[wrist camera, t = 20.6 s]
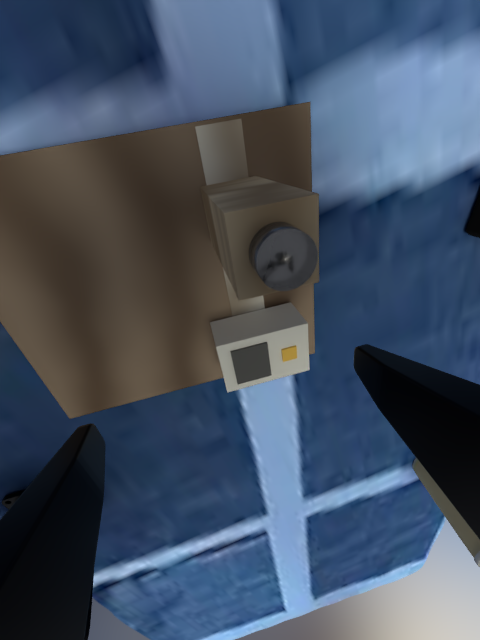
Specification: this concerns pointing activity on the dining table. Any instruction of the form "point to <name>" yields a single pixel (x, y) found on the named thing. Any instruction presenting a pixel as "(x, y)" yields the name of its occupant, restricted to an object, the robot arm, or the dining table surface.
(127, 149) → the board
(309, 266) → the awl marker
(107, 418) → the dining table surface
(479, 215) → the battery
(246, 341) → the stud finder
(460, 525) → the coffee cup
